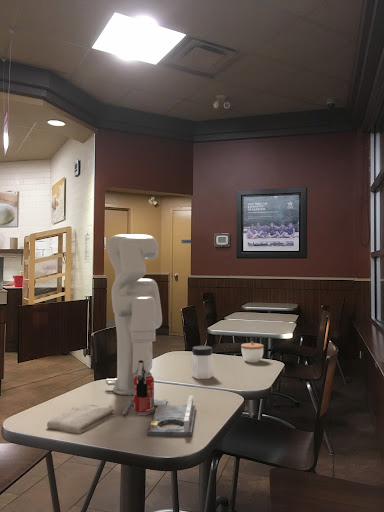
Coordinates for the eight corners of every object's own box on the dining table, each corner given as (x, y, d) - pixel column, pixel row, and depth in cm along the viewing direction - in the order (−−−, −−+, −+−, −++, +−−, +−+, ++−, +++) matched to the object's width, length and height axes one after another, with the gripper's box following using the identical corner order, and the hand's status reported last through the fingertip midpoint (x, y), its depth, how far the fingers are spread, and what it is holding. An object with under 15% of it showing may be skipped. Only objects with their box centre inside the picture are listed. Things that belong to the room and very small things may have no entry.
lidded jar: (238, 359, 215) (238, 340, 215) (259, 358, 216) (259, 339, 217) (245, 364, 204) (244, 343, 204) (267, 363, 206) (266, 343, 206)
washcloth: (116, 415, 136) (116, 405, 137) (80, 436, 120) (80, 425, 120) (85, 410, 141) (85, 401, 141) (46, 430, 125) (46, 419, 125)
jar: (188, 375, 183) (188, 346, 184) (204, 373, 187) (204, 344, 188) (199, 380, 176) (199, 350, 176) (216, 377, 180) (216, 348, 180)
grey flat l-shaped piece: (122, 416, 134) (122, 414, 134) (132, 401, 149) (132, 398, 149) (161, 417, 133) (161, 414, 133) (167, 401, 149) (167, 399, 149)
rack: (147, 435, 119) (147, 420, 119) (158, 408, 141) (158, 395, 141) (191, 436, 118) (191, 420, 118) (195, 408, 141) (195, 395, 141)
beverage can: (144, 407, 142) (143, 370, 142) (158, 411, 138) (157, 373, 138) (129, 413, 137) (129, 374, 137) (143, 417, 133) (143, 377, 133)
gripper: (136, 331, 147) (137, 385, 147) (126, 340, 130) (126, 401, 129) (159, 331, 147) (159, 385, 146) (151, 340, 129) (151, 402, 129)
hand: (143, 392), depth 138 cm, fingers closed on beverage can, 6 cm apart
